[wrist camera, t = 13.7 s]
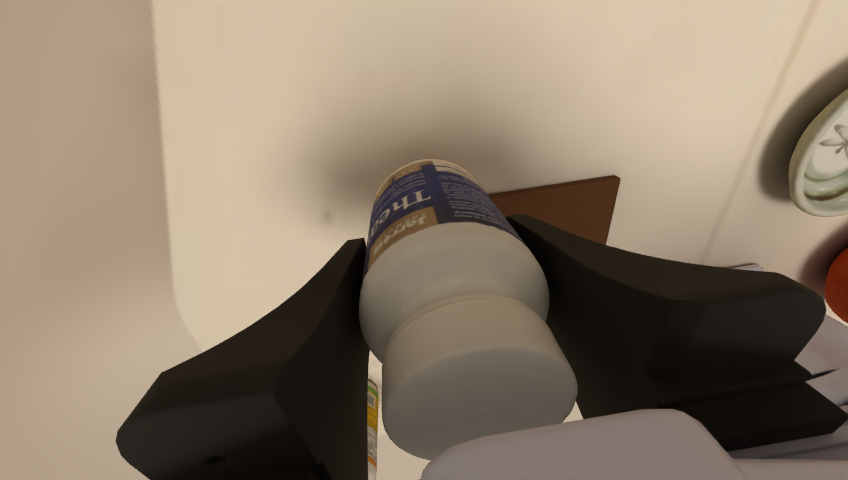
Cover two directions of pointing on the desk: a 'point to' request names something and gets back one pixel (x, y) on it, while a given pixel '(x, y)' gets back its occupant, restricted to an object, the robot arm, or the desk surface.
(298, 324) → the robot arm
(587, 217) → the walnut mat
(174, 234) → the desk surface
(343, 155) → the desk surface
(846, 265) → the fruit
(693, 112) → the desk surface
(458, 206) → the pill bottle
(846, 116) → the saucer
